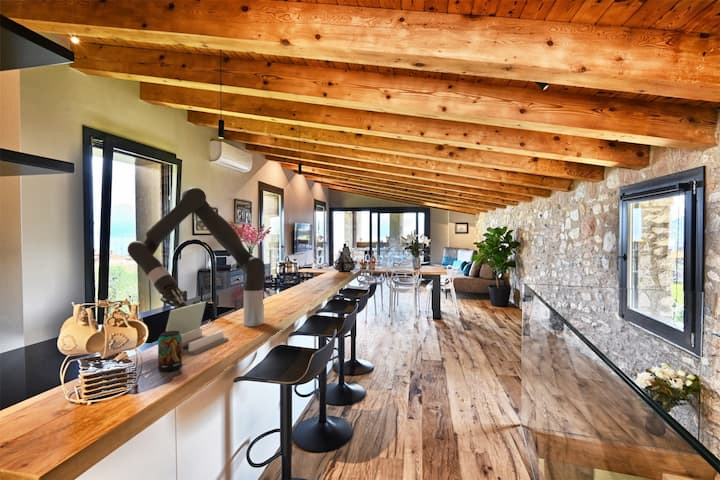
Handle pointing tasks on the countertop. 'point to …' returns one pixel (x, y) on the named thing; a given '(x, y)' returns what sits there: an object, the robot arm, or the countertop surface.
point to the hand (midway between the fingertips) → (186, 311)
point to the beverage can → (169, 351)
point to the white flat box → (200, 341)
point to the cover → (186, 318)
